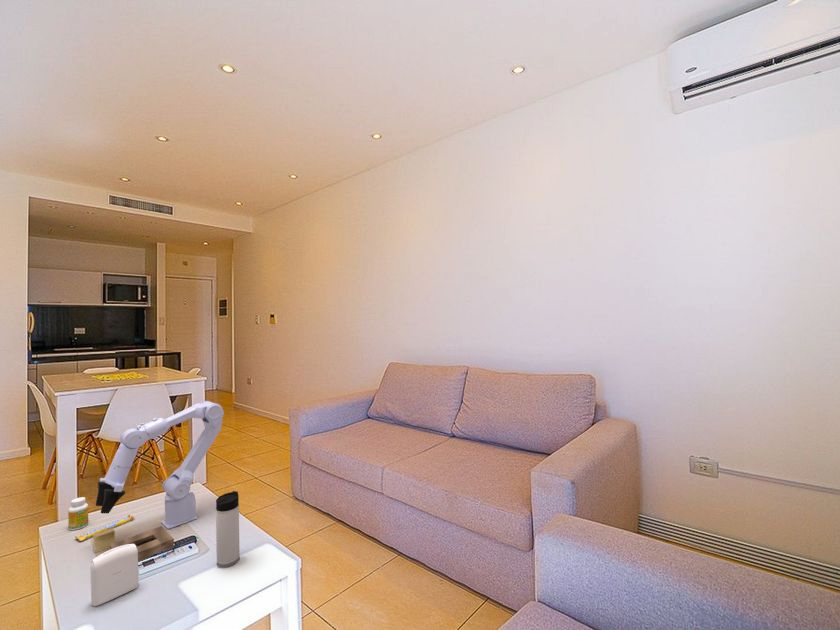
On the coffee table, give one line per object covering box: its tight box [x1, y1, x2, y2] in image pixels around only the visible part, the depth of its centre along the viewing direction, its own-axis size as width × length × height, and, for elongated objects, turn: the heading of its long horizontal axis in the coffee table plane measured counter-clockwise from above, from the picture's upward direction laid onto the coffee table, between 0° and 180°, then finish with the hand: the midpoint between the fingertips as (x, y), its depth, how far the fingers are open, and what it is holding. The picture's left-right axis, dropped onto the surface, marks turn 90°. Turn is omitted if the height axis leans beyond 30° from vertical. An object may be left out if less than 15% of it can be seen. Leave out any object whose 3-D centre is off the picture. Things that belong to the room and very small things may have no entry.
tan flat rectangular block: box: [92, 528, 116, 553], centre depth 127 cm, size 5×2×5 cm, turn 139°
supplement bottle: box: [68, 496, 89, 531], centre depth 141 cm, size 5×5×10 cm
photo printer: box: [90, 544, 140, 607], centre depth 105 cm, size 10×4×12 cm, turn 140°
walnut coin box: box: [109, 525, 175, 562], centre depth 124 cm, size 14×12×4 cm
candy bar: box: [75, 514, 135, 542], centre depth 139 cm, size 17×4×2 cm, turn 151°
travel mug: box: [215, 490, 241, 569], centre depth 119 cm, size 6×7×20 cm
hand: (101, 509), depth 127 cm, fingers open, 7 cm apart
